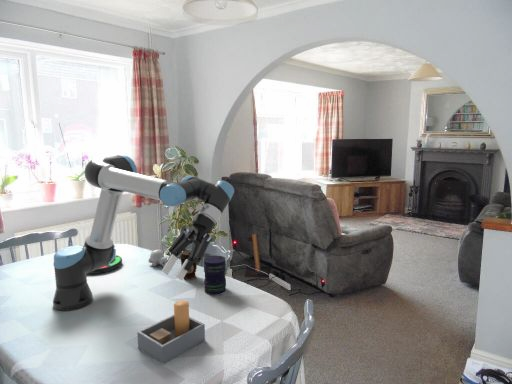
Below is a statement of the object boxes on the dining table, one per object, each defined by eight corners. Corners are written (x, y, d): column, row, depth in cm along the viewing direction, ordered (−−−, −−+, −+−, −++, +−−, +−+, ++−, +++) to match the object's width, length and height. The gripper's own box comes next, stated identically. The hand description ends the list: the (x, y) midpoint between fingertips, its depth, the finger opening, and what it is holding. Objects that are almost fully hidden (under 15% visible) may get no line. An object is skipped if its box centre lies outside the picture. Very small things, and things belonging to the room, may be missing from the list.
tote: (163, 364, 117) (162, 346, 116) (138, 348, 125) (137, 331, 125) (204, 340, 130) (204, 324, 129) (180, 327, 139) (179, 312, 138)
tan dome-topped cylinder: (175, 340, 128) (174, 308, 126) (174, 333, 133) (173, 301, 131) (190, 338, 129) (189, 306, 127) (189, 331, 134) (188, 299, 132)
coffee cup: (194, 281, 180) (193, 256, 178) (178, 280, 182) (177, 254, 179) (200, 275, 188) (199, 250, 186) (185, 273, 190) (184, 249, 188)
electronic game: (109, 257, 216) (108, 249, 215) (130, 266, 201) (130, 257, 200) (68, 268, 199) (67, 259, 198) (88, 279, 184) (87, 270, 183)
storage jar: (208, 296, 164) (207, 264, 161) (201, 288, 172) (200, 257, 170) (229, 292, 168) (229, 260, 166) (221, 284, 177) (220, 254, 174)
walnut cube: (159, 353, 121) (158, 339, 120) (150, 348, 124) (149, 334, 123) (172, 347, 124) (171, 333, 124) (162, 341, 128) (162, 328, 127)
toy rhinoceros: (159, 274, 196) (162, 261, 193) (145, 261, 202) (148, 248, 199) (170, 270, 202) (173, 257, 199) (156, 257, 208) (159, 245, 204)
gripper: (182, 209, 138) (146, 263, 128) (220, 217, 125) (184, 277, 116) (194, 220, 143) (160, 273, 133) (231, 229, 130) (197, 288, 121)
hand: (171, 275), depth 125 cm, fingers open, 7 cm apart
